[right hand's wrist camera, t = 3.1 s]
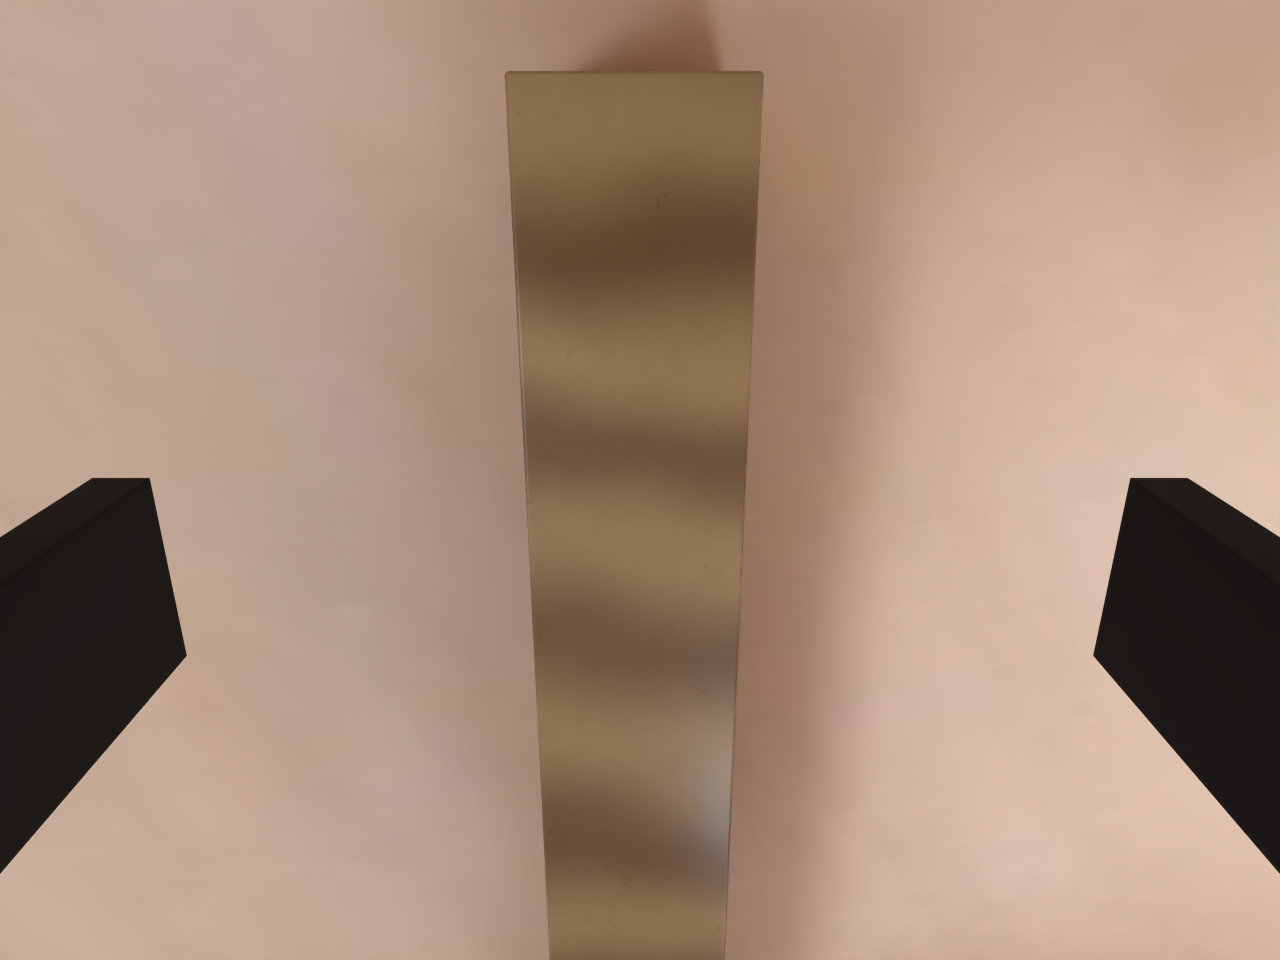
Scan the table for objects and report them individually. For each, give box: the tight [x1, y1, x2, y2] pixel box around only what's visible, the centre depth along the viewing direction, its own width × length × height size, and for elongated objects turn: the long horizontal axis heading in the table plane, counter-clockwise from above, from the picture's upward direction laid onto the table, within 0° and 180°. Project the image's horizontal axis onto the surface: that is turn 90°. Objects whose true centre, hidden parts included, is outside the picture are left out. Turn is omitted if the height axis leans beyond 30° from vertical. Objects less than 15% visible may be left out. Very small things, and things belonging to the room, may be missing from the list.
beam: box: [505, 71, 763, 960], centre depth 32 cm, size 50×5×9 cm, turn 0°
